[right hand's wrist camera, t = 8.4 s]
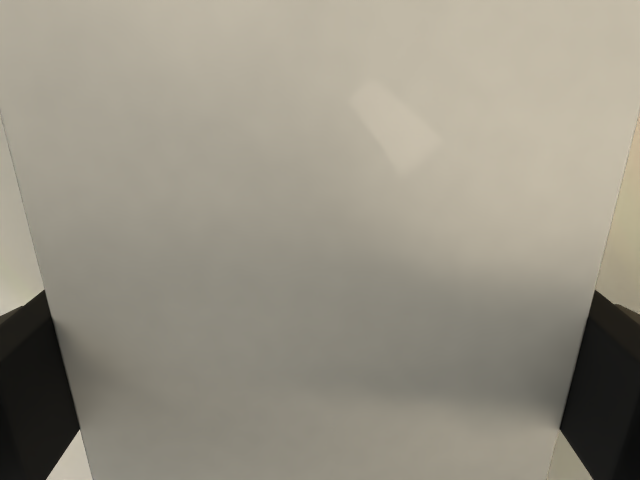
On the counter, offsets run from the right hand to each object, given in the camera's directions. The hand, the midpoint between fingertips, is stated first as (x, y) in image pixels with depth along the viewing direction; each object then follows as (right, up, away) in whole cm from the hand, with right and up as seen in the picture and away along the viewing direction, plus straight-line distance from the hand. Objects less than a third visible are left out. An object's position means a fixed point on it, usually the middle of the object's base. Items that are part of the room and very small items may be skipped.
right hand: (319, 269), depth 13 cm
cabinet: (0, +6, +4) cm, 7 cm away
